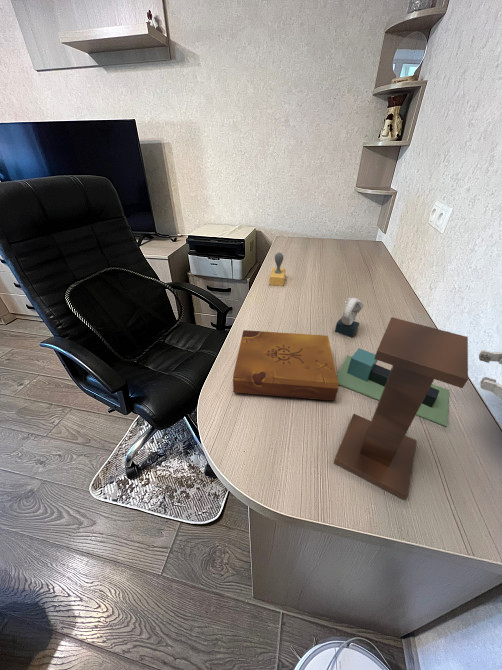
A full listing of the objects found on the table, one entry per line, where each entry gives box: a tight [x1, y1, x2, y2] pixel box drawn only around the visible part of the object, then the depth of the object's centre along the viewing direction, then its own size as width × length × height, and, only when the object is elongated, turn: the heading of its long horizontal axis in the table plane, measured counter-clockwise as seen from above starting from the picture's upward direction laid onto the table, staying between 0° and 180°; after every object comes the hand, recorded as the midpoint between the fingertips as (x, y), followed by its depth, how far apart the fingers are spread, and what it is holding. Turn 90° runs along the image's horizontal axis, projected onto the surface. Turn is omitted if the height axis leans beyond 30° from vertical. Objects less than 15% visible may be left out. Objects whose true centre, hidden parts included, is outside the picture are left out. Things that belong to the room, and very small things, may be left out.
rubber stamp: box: [269, 252, 287, 287], centre depth 114 cm, size 10×6×12 cm, turn 171°
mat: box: [336, 355, 450, 428], centre depth 66 cm, size 24×12×1 cm, turn 57°
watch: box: [334, 297, 364, 339], centre depth 83 cm, size 6×8×11 cm
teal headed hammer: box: [347, 347, 439, 408], centre depth 65 cm, size 5×19×5 cm, turn 51°
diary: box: [232, 329, 339, 401], centre depth 69 cm, size 23×19×6 cm
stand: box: [333, 316, 469, 501], centre depth 45 cm, size 12×12×26 cm
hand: (480, 367), depth 53 cm, fingers open, 8 cm apart
